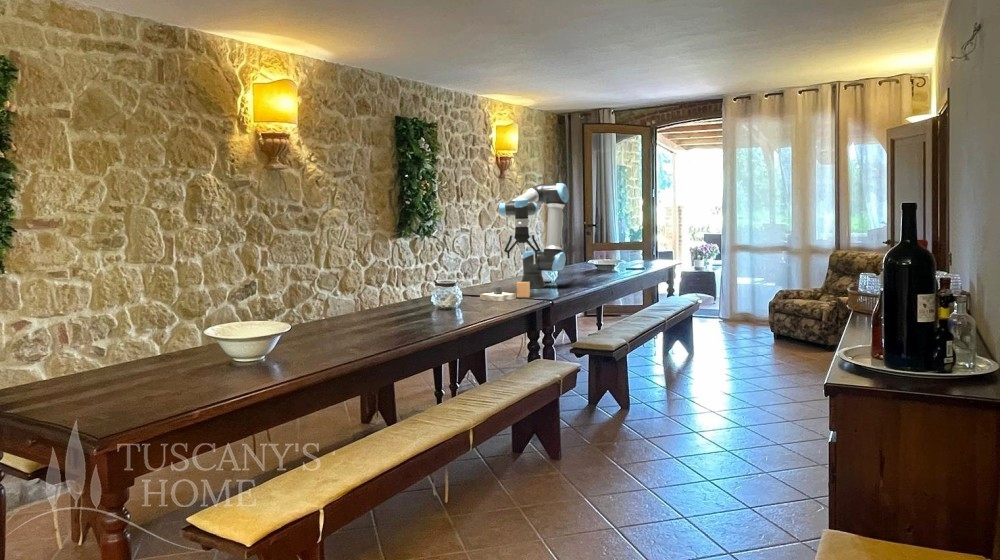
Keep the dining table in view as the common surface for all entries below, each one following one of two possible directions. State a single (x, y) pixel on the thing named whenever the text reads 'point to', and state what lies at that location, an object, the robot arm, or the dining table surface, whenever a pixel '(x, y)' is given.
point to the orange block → (523, 289)
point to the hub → (498, 295)
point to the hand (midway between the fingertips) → (522, 264)
